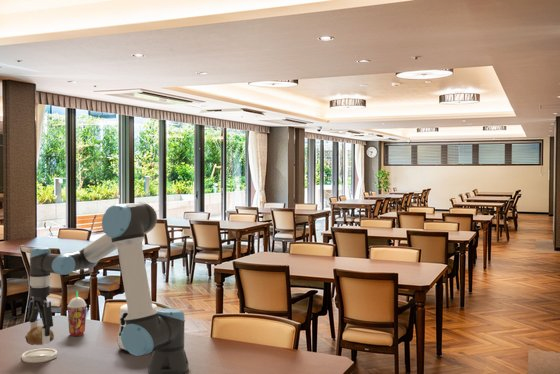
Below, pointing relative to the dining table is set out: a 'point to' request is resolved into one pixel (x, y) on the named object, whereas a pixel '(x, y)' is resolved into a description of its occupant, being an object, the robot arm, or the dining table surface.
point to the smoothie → (77, 316)
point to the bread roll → (37, 336)
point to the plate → (39, 355)
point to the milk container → (122, 323)
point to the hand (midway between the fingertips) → (39, 340)
